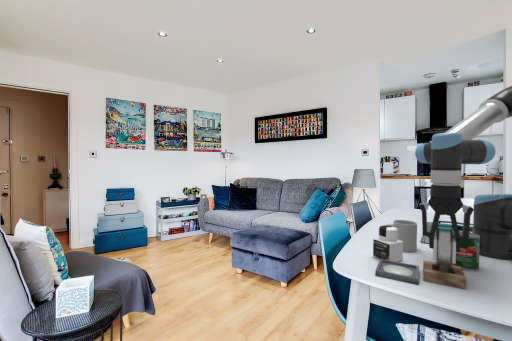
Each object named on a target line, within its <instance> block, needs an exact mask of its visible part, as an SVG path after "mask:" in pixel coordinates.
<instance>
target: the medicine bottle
mask: <svg viewBox="0 0 512 341" xmlns="http://www.w3.org/2000/svg"><path fill="white" fill-rule="evenodd" d="M397 232H398V229H397V228H395V227H393V226H388V225H387V224H386V225H385V224H384V225H380V226H379V227H378V237H375V238H373V239H372V240H373V241H372V242H373V243H372V256H373V258H375V259H377V260H380V259H384V260H390V261H395V262H403V259H404V256H403V255H404V252H403V241H400V240H397Z"/></svg>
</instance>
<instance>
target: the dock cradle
mask: <svg viewBox="0 0 512 341" xmlns="http://www.w3.org/2000/svg"><path fill="white" fill-rule="evenodd" d="M374 272H375V273H374V274H375V275H374V276H376V277H381V278H386V279H391V280H394V281H400V282H404V283H409V284H414V285H418V286H419V285H420V265H416V264H410V263H405V262H402V261H398V262H395V261H390V260H384V259H378V262H377V265H376V269H375V270H374Z"/></svg>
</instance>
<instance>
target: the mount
mask: <svg viewBox="0 0 512 341" xmlns="http://www.w3.org/2000/svg"><path fill="white" fill-rule="evenodd" d="M422 273H423V274H422V278H423V282H428V283H434V284H437V285H441V286H442V285H443V286H448V287H452V288H457V289H461V290H462V289H463V290H467V278H466V275H465V273H464V269H462V267H460V266H454V265H452V273H446V272H441V271H436V261H431V260H423V262H422Z"/></svg>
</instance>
